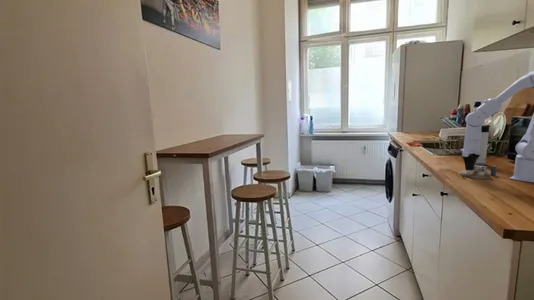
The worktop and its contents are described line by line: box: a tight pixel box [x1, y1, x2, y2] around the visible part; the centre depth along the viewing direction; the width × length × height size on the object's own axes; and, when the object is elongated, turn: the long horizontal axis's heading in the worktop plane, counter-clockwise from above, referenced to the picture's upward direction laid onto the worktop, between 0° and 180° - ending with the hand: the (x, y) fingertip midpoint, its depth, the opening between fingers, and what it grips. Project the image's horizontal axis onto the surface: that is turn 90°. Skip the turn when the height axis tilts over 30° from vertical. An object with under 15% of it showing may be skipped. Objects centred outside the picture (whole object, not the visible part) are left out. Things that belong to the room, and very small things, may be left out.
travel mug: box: [475, 124, 491, 166], centre depth 146 cm, size 6×7×20 cm
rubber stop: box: [490, 165, 498, 177], centre depth 126 cm, size 1×2×4 cm, turn 128°
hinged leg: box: [473, 165, 488, 172], centre depth 127 cm, size 7×2×3 cm, turn 38°
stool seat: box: [459, 169, 491, 180], centre depth 125 cm, size 11×11×3 cm
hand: (469, 170), depth 127 cm, fingers closed
